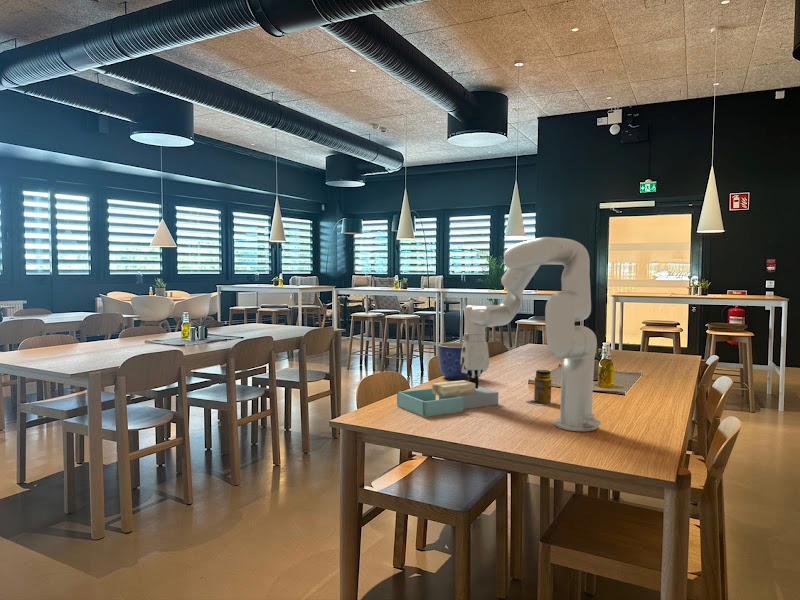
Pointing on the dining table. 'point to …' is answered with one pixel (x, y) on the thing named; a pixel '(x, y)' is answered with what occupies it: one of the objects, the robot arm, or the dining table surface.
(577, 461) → the dining table surface
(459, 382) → the tile
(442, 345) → the planter
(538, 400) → the condiment
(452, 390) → the tile
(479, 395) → the grey rectangular block
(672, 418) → the dining table surface
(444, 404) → the tray
